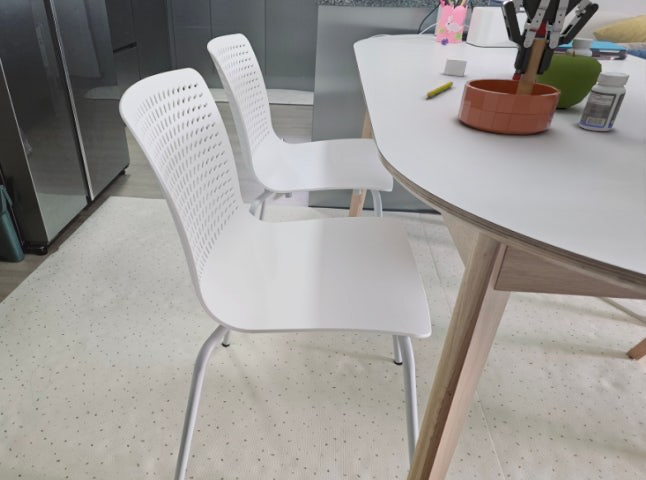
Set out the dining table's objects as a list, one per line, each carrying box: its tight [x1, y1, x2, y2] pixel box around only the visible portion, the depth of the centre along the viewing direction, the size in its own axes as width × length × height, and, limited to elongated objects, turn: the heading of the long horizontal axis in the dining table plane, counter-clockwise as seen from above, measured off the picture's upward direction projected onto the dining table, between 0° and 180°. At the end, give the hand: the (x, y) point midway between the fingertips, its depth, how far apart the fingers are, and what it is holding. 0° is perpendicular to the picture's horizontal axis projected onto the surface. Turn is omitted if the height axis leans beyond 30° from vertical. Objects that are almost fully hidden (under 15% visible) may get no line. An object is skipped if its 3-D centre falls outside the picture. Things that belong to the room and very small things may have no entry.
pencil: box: [426, 81, 454, 98], centre depth 100 cm, size 16×1×1 cm, turn 146°
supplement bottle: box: [564, 37, 594, 57], centre depth 108 cm, size 5×5×10 cm
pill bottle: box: [578, 71, 630, 132], centre depth 75 cm, size 5×5×8 cm
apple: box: [536, 51, 603, 109], centre depth 87 cm, size 11×10×10 cm
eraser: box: [443, 58, 468, 77], centre depth 119 cm, size 1×5×4 cm, turn 62°
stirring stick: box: [516, 38, 547, 95], centre depth 75 cm, size 2×2×12 cm
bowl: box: [457, 78, 561, 135], centre depth 77 cm, size 14×14×6 cm
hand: (529, 73), depth 74 cm, fingers closed on stirring stick, 2 cm apart
